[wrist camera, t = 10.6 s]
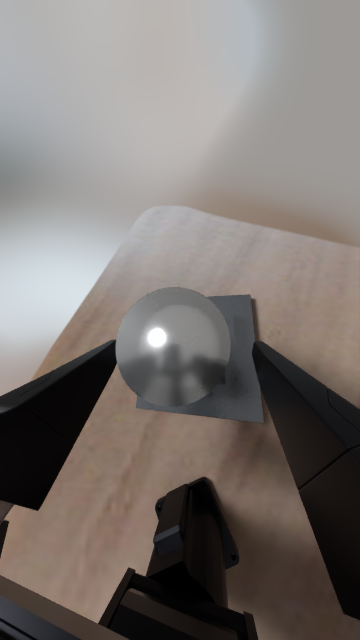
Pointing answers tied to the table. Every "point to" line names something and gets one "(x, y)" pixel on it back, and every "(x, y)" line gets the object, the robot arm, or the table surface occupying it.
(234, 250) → the table surface
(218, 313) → the silver banded cylinder
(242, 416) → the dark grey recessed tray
